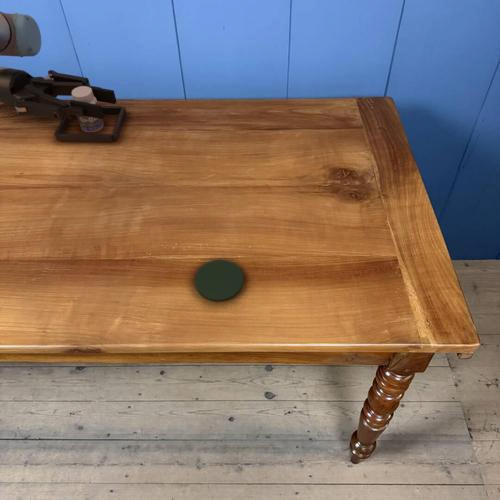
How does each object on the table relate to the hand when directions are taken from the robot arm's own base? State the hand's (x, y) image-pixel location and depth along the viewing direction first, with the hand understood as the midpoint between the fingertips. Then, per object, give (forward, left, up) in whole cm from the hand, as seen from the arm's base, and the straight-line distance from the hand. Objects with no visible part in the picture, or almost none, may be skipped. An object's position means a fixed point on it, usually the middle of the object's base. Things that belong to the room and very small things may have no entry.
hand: (107, 104), depth 92 cm
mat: (+43, -15, -6) cm, 46 cm away
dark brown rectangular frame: (-5, -2, -6) cm, 8 cm away
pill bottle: (-5, -2, -6) cm, 8 cm away
